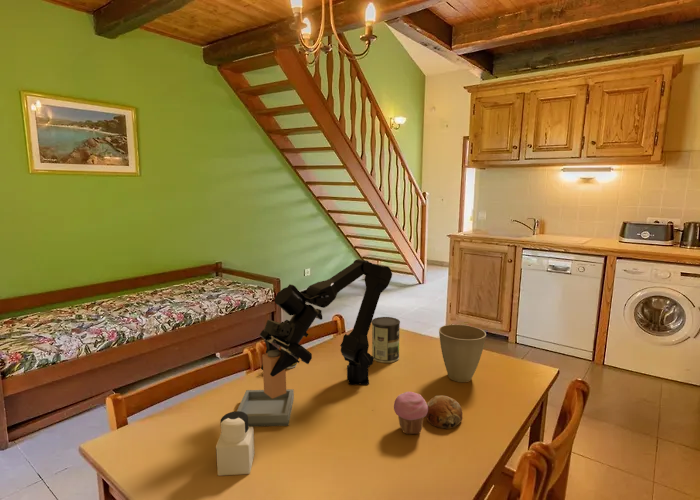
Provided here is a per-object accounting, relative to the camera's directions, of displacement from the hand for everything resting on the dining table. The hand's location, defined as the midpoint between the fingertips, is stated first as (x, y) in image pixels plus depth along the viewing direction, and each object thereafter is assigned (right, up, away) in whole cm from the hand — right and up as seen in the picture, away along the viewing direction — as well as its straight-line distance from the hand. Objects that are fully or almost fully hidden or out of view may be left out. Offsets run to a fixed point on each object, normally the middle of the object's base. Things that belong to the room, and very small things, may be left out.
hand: (266, 372), depth 110 cm
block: (+2, -6, +3) cm, 7 cm away
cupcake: (+38, -14, -3) cm, 41 cm away
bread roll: (+48, -14, +2) cm, 50 cm away
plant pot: (+59, -10, +26) cm, 65 cm away
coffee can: (+36, -7, +42) cm, 56 cm away
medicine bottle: (-4, -16, -16) cm, 23 cm away
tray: (-1, -13, +5) cm, 14 cm away
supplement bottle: (+1, -8, +35) cm, 36 cm away
